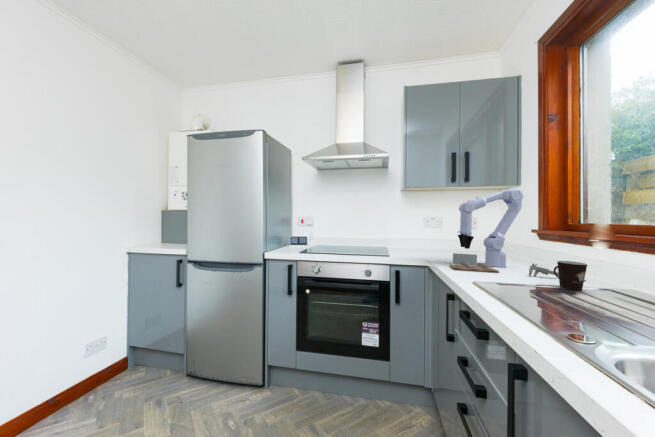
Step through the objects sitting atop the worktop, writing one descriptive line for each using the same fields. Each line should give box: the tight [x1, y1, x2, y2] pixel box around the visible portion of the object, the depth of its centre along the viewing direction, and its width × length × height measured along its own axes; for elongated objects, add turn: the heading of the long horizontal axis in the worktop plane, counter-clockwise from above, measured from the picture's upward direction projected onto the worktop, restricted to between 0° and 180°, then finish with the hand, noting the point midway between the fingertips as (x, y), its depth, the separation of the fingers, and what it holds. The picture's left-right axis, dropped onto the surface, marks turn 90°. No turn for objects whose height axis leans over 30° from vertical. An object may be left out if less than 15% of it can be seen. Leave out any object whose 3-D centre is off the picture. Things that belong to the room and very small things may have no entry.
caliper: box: [528, 263, 587, 282], centre depth 121 cm, size 20×1×6 cm, turn 67°
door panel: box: [452, 252, 478, 266], centre depth 151 cm, size 12×2×6 cm, turn 78°
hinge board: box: [449, 262, 500, 274], centre depth 137 cm, size 20×10×3 cm, turn 78°
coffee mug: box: [553, 260, 588, 292], centre depth 104 cm, size 12×9×10 cm
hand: (465, 247), depth 151 cm, fingers open, 7 cm apart
